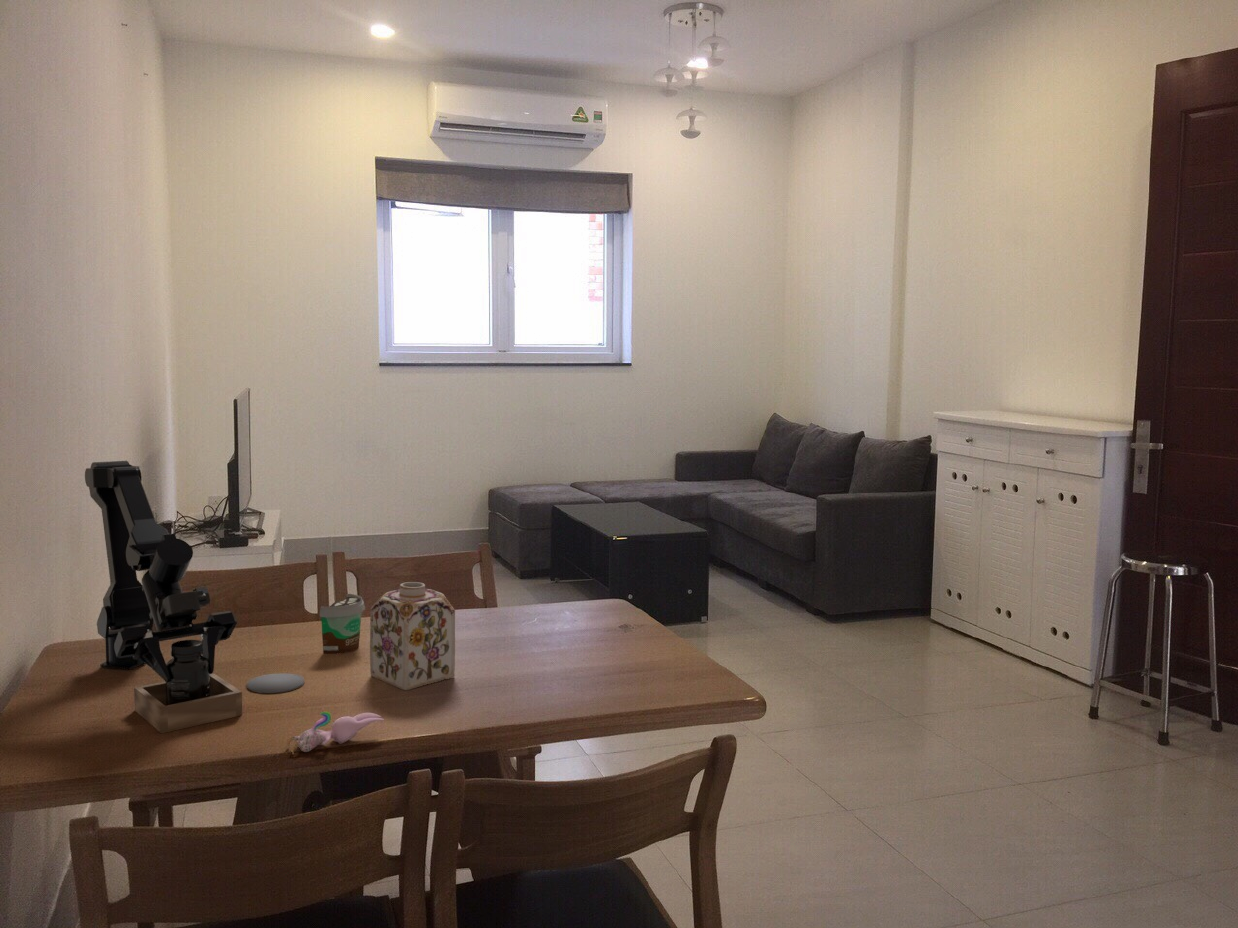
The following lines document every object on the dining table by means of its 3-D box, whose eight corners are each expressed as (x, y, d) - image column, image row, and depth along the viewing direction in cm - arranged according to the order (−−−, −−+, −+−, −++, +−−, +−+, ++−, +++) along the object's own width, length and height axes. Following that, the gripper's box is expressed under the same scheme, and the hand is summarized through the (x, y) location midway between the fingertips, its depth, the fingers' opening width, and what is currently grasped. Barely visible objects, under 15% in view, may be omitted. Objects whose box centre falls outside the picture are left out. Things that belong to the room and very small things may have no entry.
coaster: (235, 690, 181) (235, 687, 181) (266, 673, 191) (266, 671, 190) (285, 695, 179) (285, 693, 179) (314, 678, 188) (314, 676, 188)
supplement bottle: (219, 711, 170) (217, 642, 169) (182, 723, 165) (181, 651, 163) (193, 702, 174) (192, 635, 173) (157, 714, 168) (155, 644, 167)
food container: (348, 658, 201) (348, 609, 200) (319, 655, 202) (319, 607, 201) (375, 641, 213) (375, 595, 212) (348, 638, 214) (347, 592, 213)
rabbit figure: (296, 767, 152) (391, 734, 160) (289, 731, 151) (385, 699, 159) (285, 753, 158) (377, 721, 165) (279, 718, 156) (371, 687, 164)
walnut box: (134, 710, 170) (134, 687, 169) (212, 694, 179) (212, 672, 178) (161, 733, 160) (160, 708, 160) (242, 714, 169) (241, 691, 169)
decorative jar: (368, 676, 190) (368, 583, 188) (419, 663, 199) (419, 574, 197) (405, 692, 182) (405, 594, 180) (457, 678, 191) (457, 585, 189)
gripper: (117, 579, 163) (141, 662, 157) (232, 565, 176) (259, 641, 169) (104, 616, 170) (126, 697, 163) (215, 600, 183) (240, 675, 176)
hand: (190, 676), depth 168 cm, fingers closed on supplement bottle, 7 cm apart
